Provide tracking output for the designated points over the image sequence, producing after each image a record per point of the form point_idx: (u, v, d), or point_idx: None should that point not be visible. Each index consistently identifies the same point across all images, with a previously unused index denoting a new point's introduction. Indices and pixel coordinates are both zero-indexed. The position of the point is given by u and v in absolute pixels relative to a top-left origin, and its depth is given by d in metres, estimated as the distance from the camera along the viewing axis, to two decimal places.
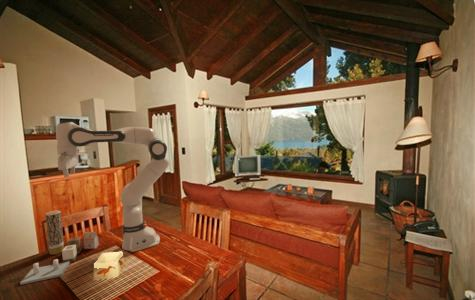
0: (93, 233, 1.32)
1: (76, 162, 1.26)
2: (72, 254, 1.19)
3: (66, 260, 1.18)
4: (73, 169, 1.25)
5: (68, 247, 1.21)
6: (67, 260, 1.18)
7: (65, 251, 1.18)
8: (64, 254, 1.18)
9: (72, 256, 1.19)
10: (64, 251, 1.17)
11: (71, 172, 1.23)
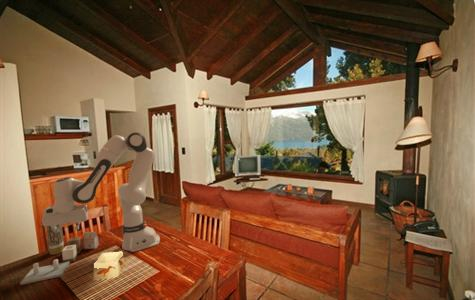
0: (93, 233, 1.32)
1: None
2: (72, 254, 1.19)
3: (66, 260, 1.18)
4: (55, 227, 1.17)
5: (68, 247, 1.21)
6: (67, 260, 1.18)
7: (65, 251, 1.18)
8: (64, 254, 1.18)
9: (72, 256, 1.19)
10: (64, 251, 1.17)
11: (57, 230, 1.17)
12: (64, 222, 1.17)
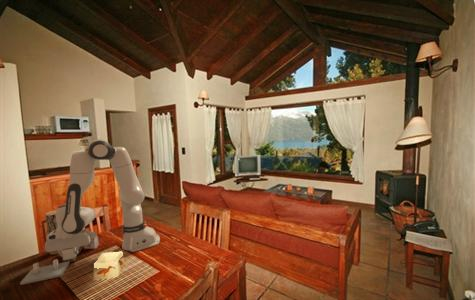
0: (93, 233, 1.32)
1: None
2: (72, 254, 1.19)
3: (66, 260, 1.18)
4: (61, 251, 1.19)
5: None
6: (67, 260, 1.18)
7: (65, 251, 1.18)
8: (64, 254, 1.18)
9: (72, 256, 1.19)
10: (64, 251, 1.17)
11: None
12: (67, 247, 1.18)
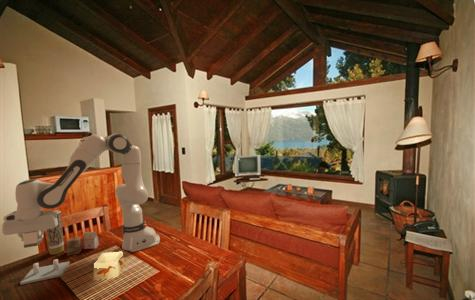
0: (93, 233, 1.32)
1: None
2: (35, 238, 1.04)
3: (28, 245, 1.03)
4: None
5: None
6: (29, 245, 1.03)
7: (26, 234, 1.03)
8: (25, 238, 1.03)
9: (35, 240, 1.04)
10: (25, 234, 1.02)
11: None
12: (29, 230, 1.03)
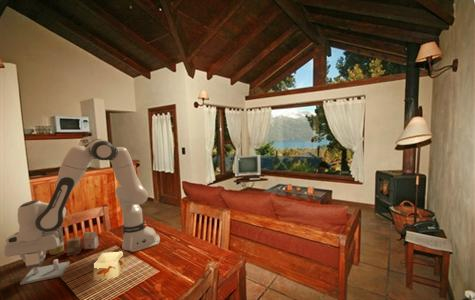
0: (93, 233, 1.32)
1: None
2: (37, 259, 1.05)
3: (30, 266, 1.04)
4: None
5: None
6: (30, 266, 1.04)
7: (28, 255, 1.03)
8: (27, 259, 1.03)
9: (37, 261, 1.05)
10: (27, 255, 1.03)
11: None
12: (31, 251, 1.04)
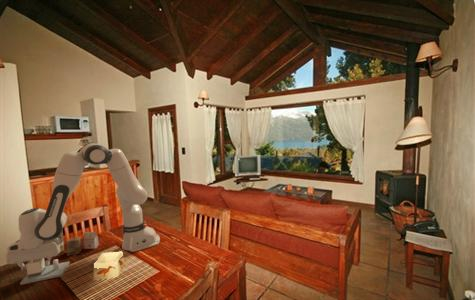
0: (93, 233, 1.32)
1: None
2: (38, 268, 1.06)
3: (31, 275, 1.05)
4: (22, 264, 1.05)
5: None
6: (32, 275, 1.05)
7: (30, 264, 1.04)
8: (29, 268, 1.04)
9: (38, 270, 1.06)
10: (29, 264, 1.04)
11: (25, 267, 1.05)
12: (32, 258, 1.05)
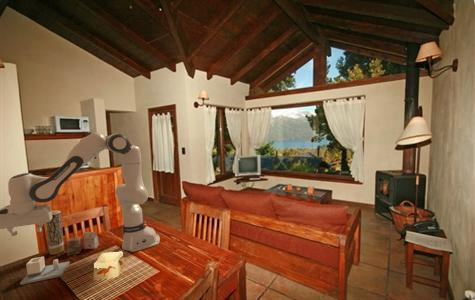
0: (93, 233, 1.32)
1: None
2: (38, 268, 1.06)
3: (31, 275, 1.05)
4: (13, 230, 1.03)
5: (35, 259, 1.08)
6: (32, 275, 1.05)
7: (30, 264, 1.04)
8: (29, 268, 1.04)
9: (38, 270, 1.06)
10: (29, 264, 1.04)
11: (15, 233, 1.03)
12: (23, 224, 1.03)
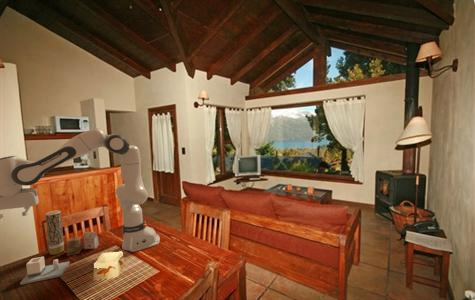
0: (93, 233, 1.32)
1: None
2: (38, 268, 1.06)
3: (31, 275, 1.05)
4: None
5: (35, 259, 1.08)
6: (32, 275, 1.05)
7: (30, 264, 1.04)
8: (29, 268, 1.04)
9: (38, 270, 1.06)
10: (29, 264, 1.04)
11: (1, 216, 1.02)
12: (8, 207, 1.02)
